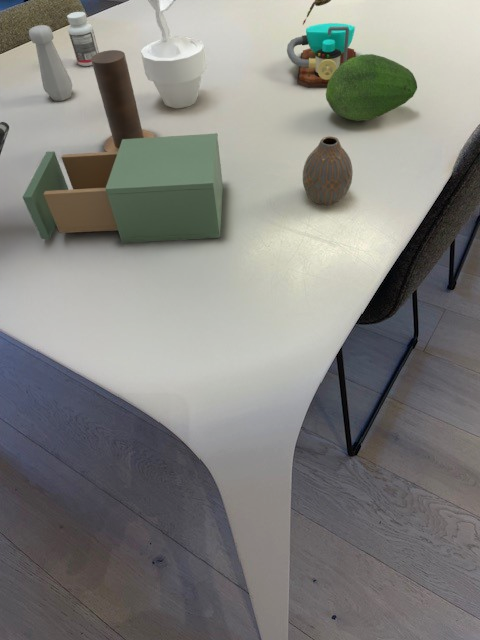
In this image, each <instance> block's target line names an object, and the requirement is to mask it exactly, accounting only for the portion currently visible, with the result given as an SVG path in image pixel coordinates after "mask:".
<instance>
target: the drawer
mask: <svg viewBox="0 0 480 640" xmlns="http://www.w3.org/2000/svg"><path fill="white" fill-rule="evenodd" d="M117 153H118V151H115V152H105V151H99V152H84V153H68V154H62V155H61V161H62V164H63V166H64V169H65V171H66V175H67V177H68V178H69V182H70V185H71V188H72V189H69V186H68V184H67V181H66V179H65V178H66V177H65V176H64V173H63V171H62V167H61V165H60V163H59V160H58V157H57V155H56V152H55V150H54V151H53V150H52V151H46V152H45V154H44V156H43V157H42V159H41V161H40V163H39V165H38V167H37V168H36V171H35V173H34V174H33V176H32V178H31V180H30V182H29V184H28V186H27V187H26V189H25V191H24V193H23V195H22V200H23V202H24V204H25V206H26V208H27V210H28V212H29V215H30V217H31V219H32V221H33V223H34V226H35V228H36V230H37V232H38V234H39V236H40V238H41V240H48V239H51V237H52V235H53V232H54V230H55V227H57V231H58V232H59V234H67V233H69V234H70V233H88V232H109V231H118V228H117V225H116V222H115V219H114V215H113V212H112V209H111V206H110V203H109V199H108V196H107V193H106V190H105V189H106V186H107V183H108V180H109V177H110V174H111V171H112V168H113V165H114V162H115V159H116V156H117Z"/></svg>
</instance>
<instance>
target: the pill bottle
mask: <svg viewBox="0 0 480 640" xmlns="http://www.w3.org/2000/svg"><path fill="white" fill-rule="evenodd" d="M66 19H67V22H68V24H69V25H70V26H69V27H68V31H67V32H68V36H69V39H70V42H71V45H72V49H73V51H74V55H75V58H76V61H77V64H78V65H79V66H82V67H90V66H93V65H92V61H91V58H92V56H94V55H95V54H97V53H100V50H99V46H98V44H97V43H98V42H97V40H96V36H95V32H94V28H93V26H92V25H91V23H89V22H88V17H87V15H86V13H85V11H74V12H70V13H69V14H67V16H66Z"/></svg>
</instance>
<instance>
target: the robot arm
mask: <svg viewBox="0 0 480 640" xmlns="http://www.w3.org/2000/svg"><path fill="white" fill-rule="evenodd" d="M9 130H10V126H9V124H8V123H7V122H5V121H1V122H0V155H1V154H2V152H3V148H4V145H5V144H6V143H5V142H6V139H7V138H8V134H9V132H10V131H9Z"/></svg>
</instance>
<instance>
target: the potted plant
mask: <svg viewBox="0 0 480 640" xmlns="http://www.w3.org/2000/svg"><path fill="white" fill-rule="evenodd" d="M147 1H148V3H149V4H150V6H151V7H152V9H153V10H154V12H155V20H156V23H157V26H158V28H159V30H160V32H161V39H158V40H155V41H153V42H150V43H148V44H146V45H145V46H144V47H143V48H142V49H141V50H140V55H141V60H142V65H143V70H144V74H145V76H146V78H147V80H148V81H151V82H153V84H154V87H155V88H156V90H157V92H158V93H159V95H160V97H161V99H162V101H163V103H164V105H165V106H167V107H170V108H172V109H184V108H188V107H190V106H192V105H193V104H195V103H196V102H197V100H198V98H199V97H198V96H199V92H200V87H201V81H202V76H203V75H204V74H205V72H206V70H207V68H208V67H207V58H206V49H205V45H204V43H203V42H202V41H201V40H200V39H198V38H197V39H196V38H192V37H187V36H177V35H172V34H171V31H170V30H171V29H170V28H169V24H168V22H167V19H166V17H165V14H164V12H166V11H168V10H169V9H170V8H171V7H172V5H174V3H175V2H176V1H177V0H147Z"/></svg>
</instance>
